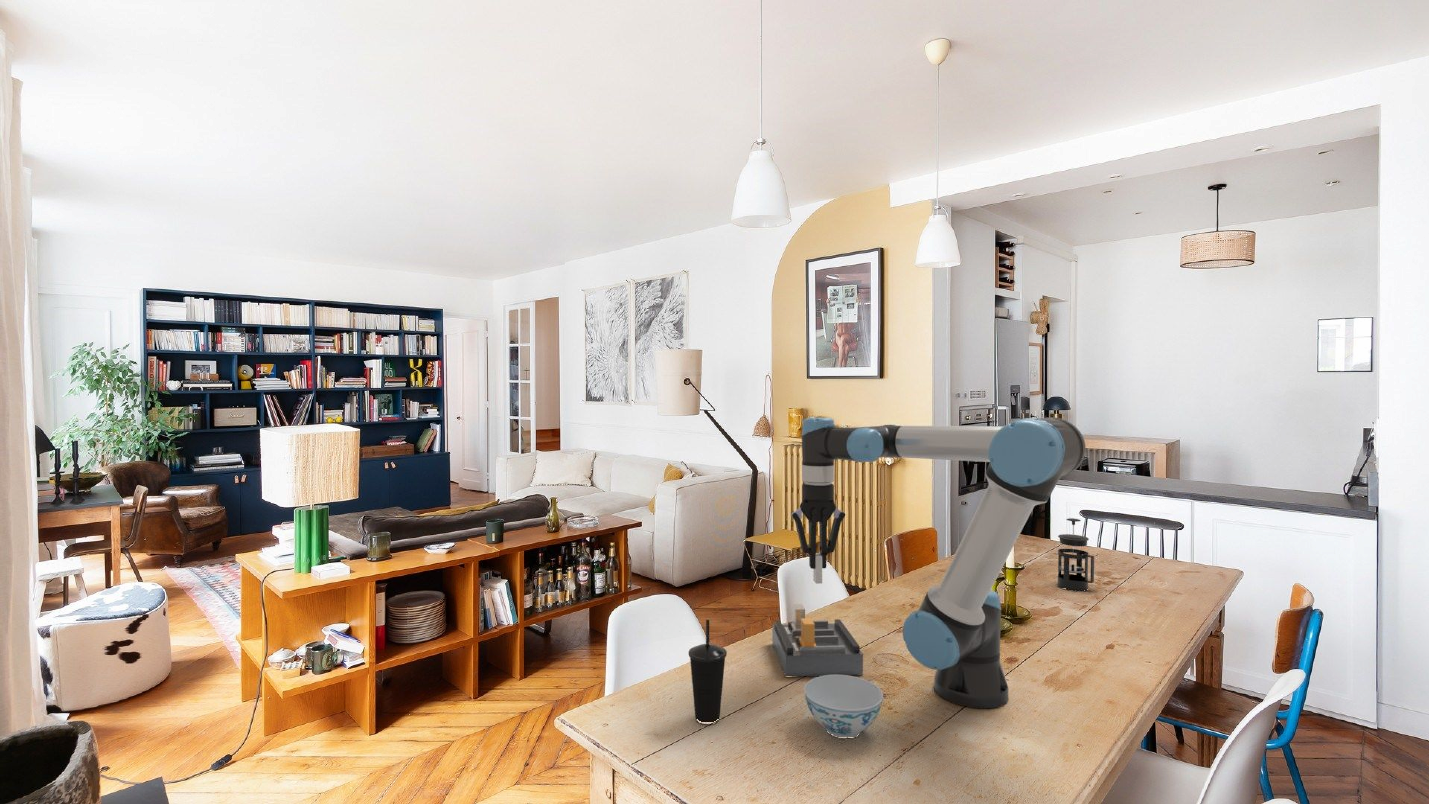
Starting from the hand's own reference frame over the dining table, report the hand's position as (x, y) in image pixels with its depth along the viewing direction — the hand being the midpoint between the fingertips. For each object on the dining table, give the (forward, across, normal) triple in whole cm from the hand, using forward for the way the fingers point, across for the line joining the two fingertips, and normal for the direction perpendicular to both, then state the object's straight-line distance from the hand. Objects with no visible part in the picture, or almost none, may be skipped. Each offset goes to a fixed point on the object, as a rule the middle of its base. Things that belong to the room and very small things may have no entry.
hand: (817, 581), depth 158 cm
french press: (+21, -100, -56) cm, 116 cm away
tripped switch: (+15, +2, 0) cm, 15 cm away
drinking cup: (+21, +28, +23) cm, 41 cm away
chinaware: (+21, +2, +29) cm, 36 cm away
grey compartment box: (+20, 0, -5) cm, 21 cm away
